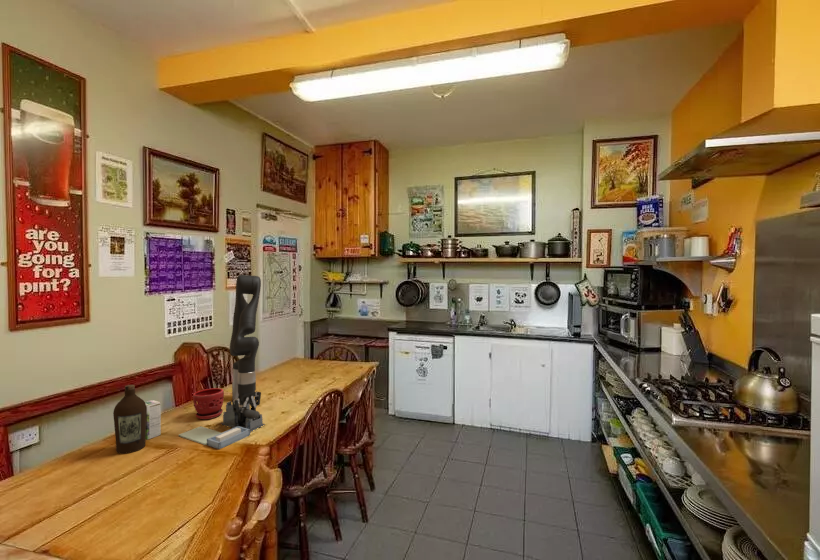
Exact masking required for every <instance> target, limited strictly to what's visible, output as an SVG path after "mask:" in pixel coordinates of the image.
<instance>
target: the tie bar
mask: <svg viewBox="0 0 820 560" xmlns="http://www.w3.org/2000/svg"><path fill="white" fill-rule="evenodd" d="M229 430H230V429H229ZM222 433H223V432H222ZM239 433H241V429H240V428H235V429H233V430H230V431H228V432H226V433H223V434H221V435H219V436H216V441H218V442H221V441H223V440H225V439H227V438H230V437H232V436H234V435H237V434H239Z"/></svg>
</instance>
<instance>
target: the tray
mask: <svg viewBox="0 0 820 560" xmlns="http://www.w3.org/2000/svg"><path fill="white" fill-rule="evenodd" d="M235 428H240V429H241V433H239V434H237V435H234V436H232V437H230V438H227V439H225V440H223V441H221V442H218V441H216V436H219V435H221V434H223V433H226V432H228V431H230V430H233V429H235ZM235 428H231V429H227V430H225V431H223V432H222V433H220V434H218V435H216V436H213V437H211V438H208V439H207V445H206V446H208V447H210V448H214V449H217V450H221V449H223V448H225V447H227V446H230V445H232V444H234V443H237V442H239V441H240V440H244V439H245V438H247V437H249V435H250V436H251V432H250V429H247V428H243V427H240V426H237V427H235Z"/></svg>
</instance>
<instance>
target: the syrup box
mask: <svg viewBox="0 0 820 560" xmlns="http://www.w3.org/2000/svg"><path fill="white" fill-rule="evenodd" d="M144 402H145V404H146V407H147V411H146V440H150V439H153V438H156V437H159V436H160V435H161V433H162V429H161V427H162V424H161V423H162V419H161V416H162V415H161V401H158V400H154V399H152V400H147V401H144Z"/></svg>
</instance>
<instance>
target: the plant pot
mask: <svg viewBox="0 0 820 560" xmlns="http://www.w3.org/2000/svg"><path fill="white" fill-rule="evenodd" d="M224 392H225V391H224V389H223V388H220V387H215V388H213V387H211V388H206V389H205V388H204V389H201V390H198V391H195V392H194V393H193V394H192V399H193V400H192V401H193V407H194V409H195V411H196V414H195V417H196V418H197V419H199V420H210V419H211V420H212V419H214V418H218V417H219V416H220V415H221V414H223V412H224V411H223V408H222V407H223V404H224V399H225V398H224V397H225V396H224V395H225V394H224Z"/></svg>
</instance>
